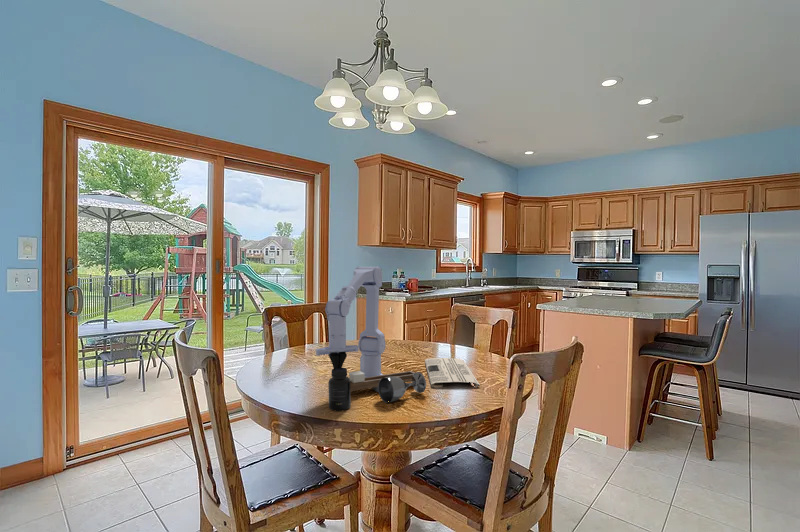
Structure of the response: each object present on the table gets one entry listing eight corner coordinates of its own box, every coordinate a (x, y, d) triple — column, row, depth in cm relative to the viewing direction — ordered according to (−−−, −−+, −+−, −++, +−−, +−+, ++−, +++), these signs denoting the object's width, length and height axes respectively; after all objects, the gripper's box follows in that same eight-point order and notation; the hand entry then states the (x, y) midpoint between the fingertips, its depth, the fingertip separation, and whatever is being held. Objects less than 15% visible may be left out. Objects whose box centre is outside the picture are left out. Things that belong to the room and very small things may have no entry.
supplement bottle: (329, 404, 129) (329, 366, 129) (351, 403, 129) (350, 366, 129) (327, 412, 122) (327, 372, 122) (350, 411, 123) (350, 371, 122)
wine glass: (424, 398, 138) (391, 407, 128) (409, 388, 144) (376, 396, 134) (428, 376, 136) (395, 384, 127) (413, 367, 142) (380, 373, 132)
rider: (349, 383, 141) (349, 372, 141) (359, 381, 143) (359, 370, 143) (353, 386, 137) (353, 375, 137) (364, 384, 139) (364, 373, 139)
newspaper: (424, 364, 182) (424, 357, 182) (467, 363, 182) (467, 357, 182) (431, 389, 146) (431, 381, 146) (484, 389, 146) (484, 381, 146)
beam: (340, 392, 140) (340, 380, 140) (410, 381, 153) (410, 370, 153) (346, 397, 135) (346, 385, 135) (418, 385, 148) (418, 374, 148)
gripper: (319, 338, 130) (319, 380, 130) (361, 334, 136) (361, 374, 136) (313, 334, 136) (314, 374, 136) (354, 331, 143) (354, 369, 143)
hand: (337, 374), depth 137 cm, fingers closed
